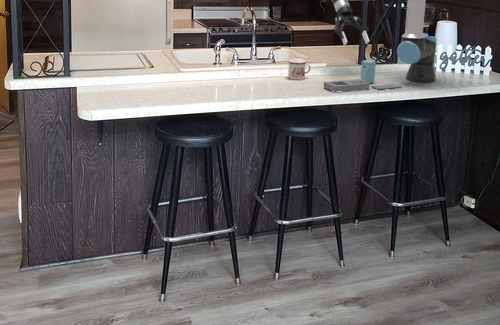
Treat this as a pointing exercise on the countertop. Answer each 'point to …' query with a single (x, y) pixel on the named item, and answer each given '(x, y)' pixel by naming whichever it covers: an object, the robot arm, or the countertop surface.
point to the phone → (385, 87)
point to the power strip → (346, 85)
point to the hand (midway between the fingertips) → (356, 43)
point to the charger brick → (368, 71)
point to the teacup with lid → (297, 68)
